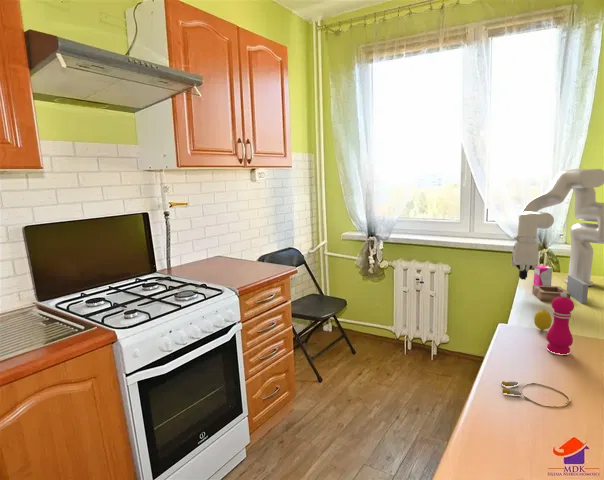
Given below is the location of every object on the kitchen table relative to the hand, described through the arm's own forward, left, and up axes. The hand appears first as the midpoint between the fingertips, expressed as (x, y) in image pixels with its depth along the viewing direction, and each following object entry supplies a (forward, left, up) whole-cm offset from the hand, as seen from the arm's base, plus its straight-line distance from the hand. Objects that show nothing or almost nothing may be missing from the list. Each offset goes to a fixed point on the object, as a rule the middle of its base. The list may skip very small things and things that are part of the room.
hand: (522, 278), depth 181 cm
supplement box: (-15, +13, -9) cm, 22 cm away
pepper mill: (+60, -6, -9) cm, 61 cm away
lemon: (+42, -5, -9) cm, 43 cm away
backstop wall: (-2, +23, -9) cm, 25 cm away
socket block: (0, +12, -9) cm, 15 cm away
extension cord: (+88, -21, -10) cm, 91 cm away
